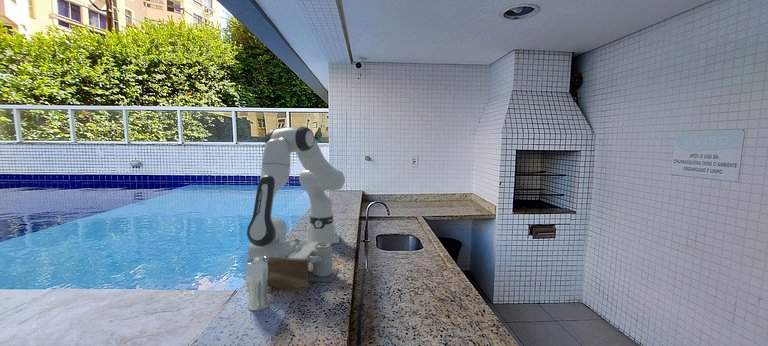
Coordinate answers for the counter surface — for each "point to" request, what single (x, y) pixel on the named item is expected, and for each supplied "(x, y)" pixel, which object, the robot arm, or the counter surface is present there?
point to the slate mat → (323, 279)
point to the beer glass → (257, 282)
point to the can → (326, 264)
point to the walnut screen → (288, 275)
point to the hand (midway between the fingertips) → (325, 254)
